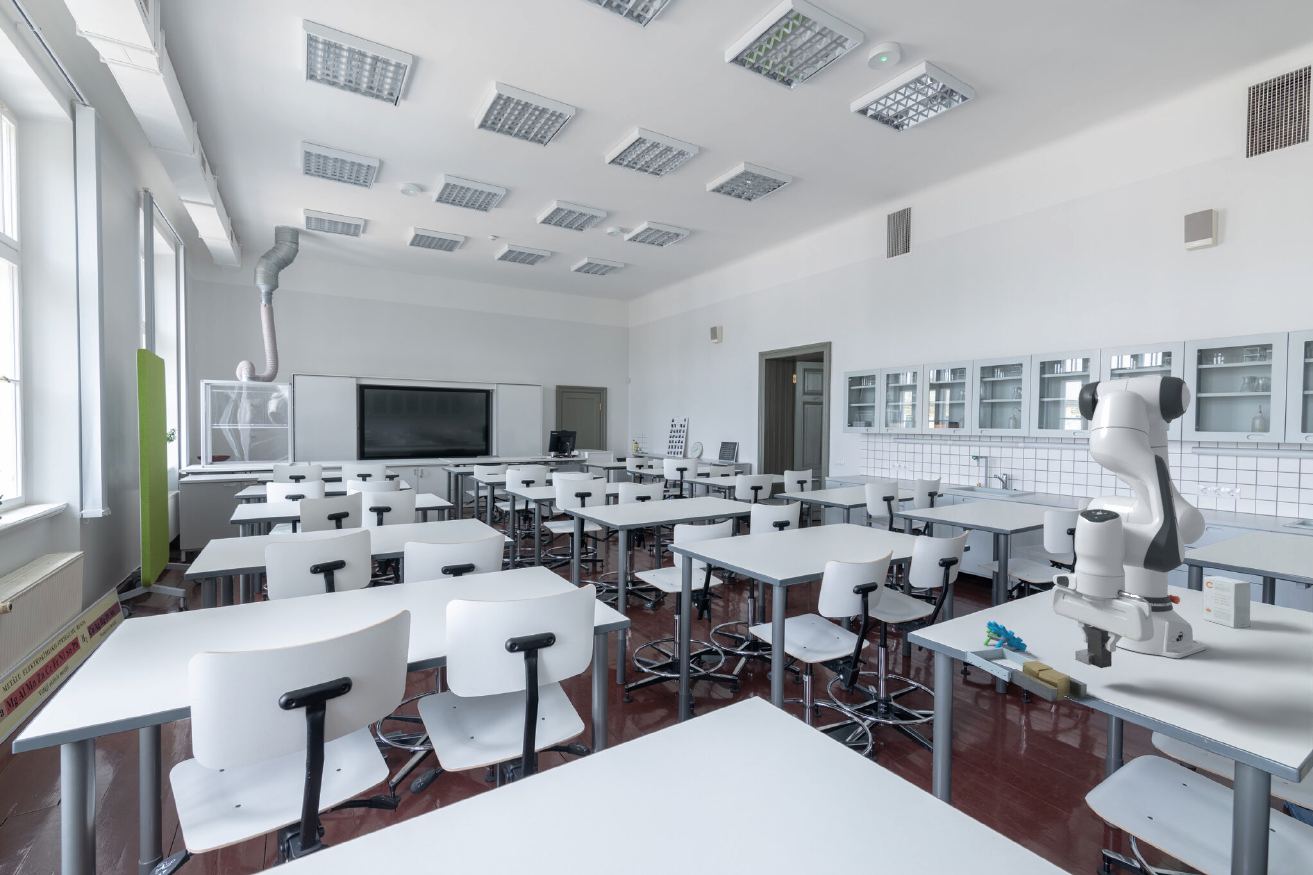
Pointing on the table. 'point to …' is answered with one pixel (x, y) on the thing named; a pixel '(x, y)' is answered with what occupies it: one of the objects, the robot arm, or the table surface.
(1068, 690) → the chip
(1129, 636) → the robot arm
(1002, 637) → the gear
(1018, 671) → the slot rail
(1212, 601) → the small box
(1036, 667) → the tan block
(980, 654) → the tray
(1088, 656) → the dark grey stepped block
